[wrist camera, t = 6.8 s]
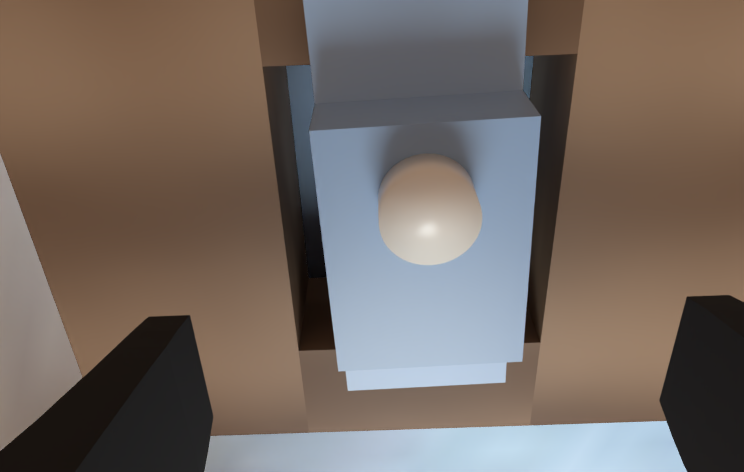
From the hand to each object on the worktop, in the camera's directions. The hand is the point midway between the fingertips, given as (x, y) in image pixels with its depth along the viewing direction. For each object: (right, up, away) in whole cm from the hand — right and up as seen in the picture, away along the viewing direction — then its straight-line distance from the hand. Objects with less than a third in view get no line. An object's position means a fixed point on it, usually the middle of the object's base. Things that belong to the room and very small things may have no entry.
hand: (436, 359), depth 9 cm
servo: (0, +4, +6) cm, 7 cm away
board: (0, +4, +6) cm, 7 cm away
